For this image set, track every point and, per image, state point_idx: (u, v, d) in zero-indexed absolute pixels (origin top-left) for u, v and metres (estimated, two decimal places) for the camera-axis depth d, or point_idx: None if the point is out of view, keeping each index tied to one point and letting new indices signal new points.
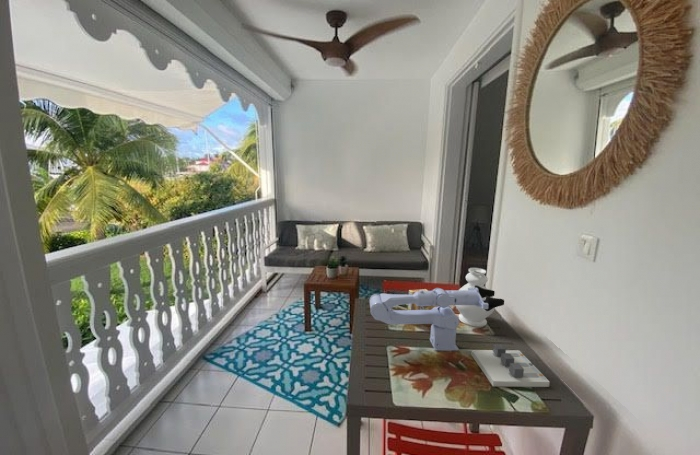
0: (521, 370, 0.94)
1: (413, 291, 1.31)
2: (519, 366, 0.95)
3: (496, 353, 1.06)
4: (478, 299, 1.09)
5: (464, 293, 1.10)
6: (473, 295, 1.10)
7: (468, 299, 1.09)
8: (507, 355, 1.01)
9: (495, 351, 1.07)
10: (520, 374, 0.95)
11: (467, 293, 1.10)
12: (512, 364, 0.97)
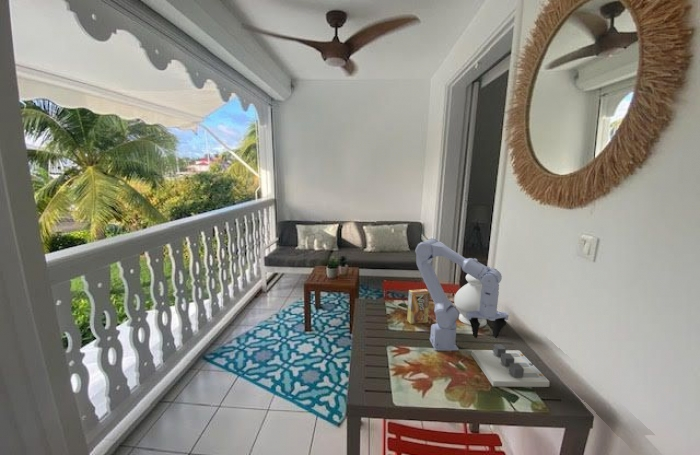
0: (521, 370, 0.94)
1: (413, 291, 1.31)
2: (519, 366, 0.95)
3: (496, 353, 1.06)
4: (480, 314, 1.03)
5: (495, 304, 1.01)
6: (485, 311, 1.02)
7: (481, 304, 1.03)
8: (507, 355, 1.01)
9: (495, 351, 1.07)
10: (520, 374, 0.95)
11: (487, 307, 1.01)
12: (512, 364, 0.97)
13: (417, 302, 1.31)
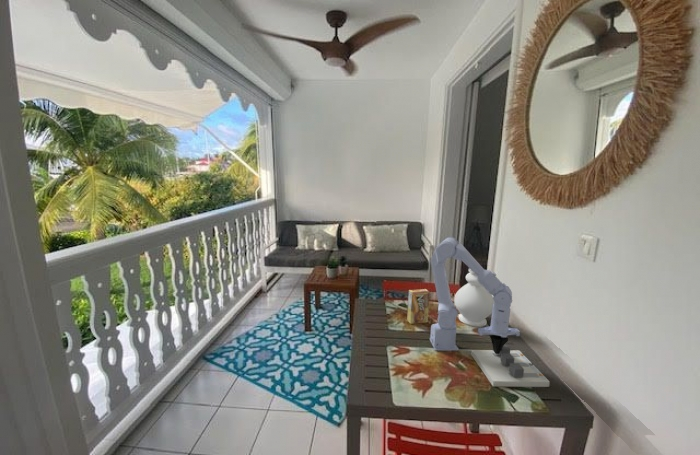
0: (521, 370, 0.94)
1: (413, 291, 1.31)
2: (519, 366, 0.95)
3: (500, 353, 1.06)
4: (492, 330, 1.04)
5: (507, 321, 1.02)
6: (496, 328, 1.03)
7: (493, 321, 1.04)
8: (507, 355, 1.01)
9: None
10: (520, 374, 0.95)
11: (499, 323, 1.02)
12: (512, 364, 0.97)
13: (417, 302, 1.31)
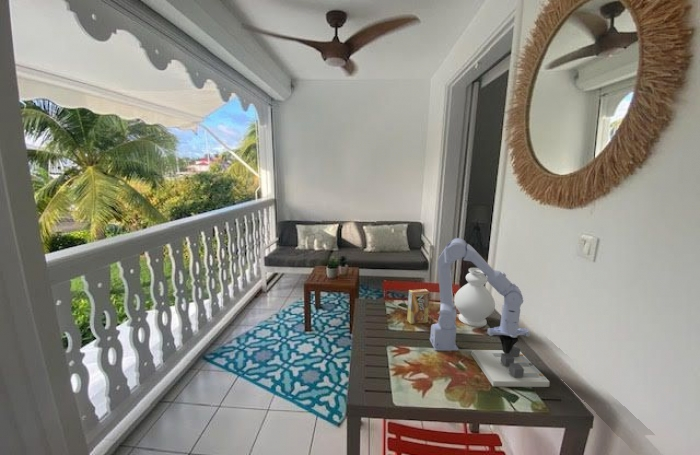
0: (521, 370, 0.94)
1: (413, 291, 1.31)
2: (519, 366, 0.95)
3: (510, 353, 1.06)
4: (501, 330, 1.05)
5: (518, 321, 1.02)
6: (506, 328, 1.03)
7: (503, 321, 1.04)
8: (507, 355, 1.01)
9: None
10: (520, 374, 0.95)
11: (509, 324, 1.02)
12: (512, 364, 0.97)
13: (417, 302, 1.31)
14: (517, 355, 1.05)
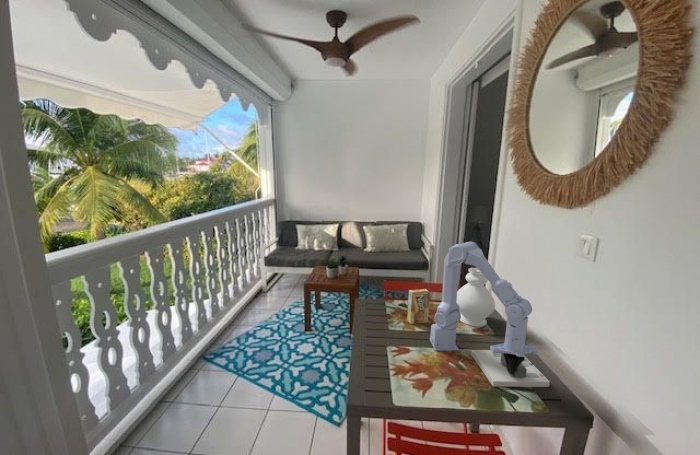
0: (524, 370, 0.94)
1: (413, 291, 1.31)
2: (522, 366, 0.95)
3: None
4: (506, 348, 0.94)
5: (521, 338, 0.91)
6: (511, 346, 0.92)
7: (507, 338, 0.93)
8: None
9: None
10: (523, 374, 0.95)
11: (515, 341, 0.91)
12: None
13: (417, 302, 1.31)
14: None
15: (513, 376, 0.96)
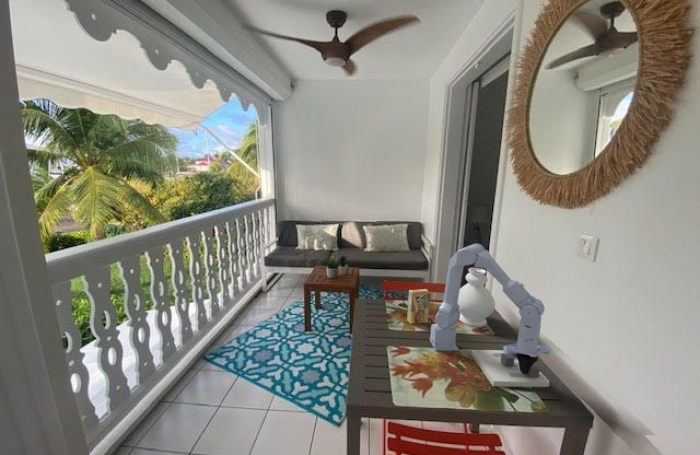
0: (537, 370, 0.94)
1: (413, 291, 1.31)
2: (535, 366, 0.96)
3: (510, 353, 1.06)
4: (519, 348, 0.94)
5: (536, 338, 0.91)
6: (525, 346, 0.92)
7: (521, 338, 0.93)
8: (507, 355, 1.01)
9: None
10: (536, 374, 0.95)
11: (528, 341, 0.91)
12: None
13: (417, 302, 1.31)
14: None
15: (513, 376, 0.96)
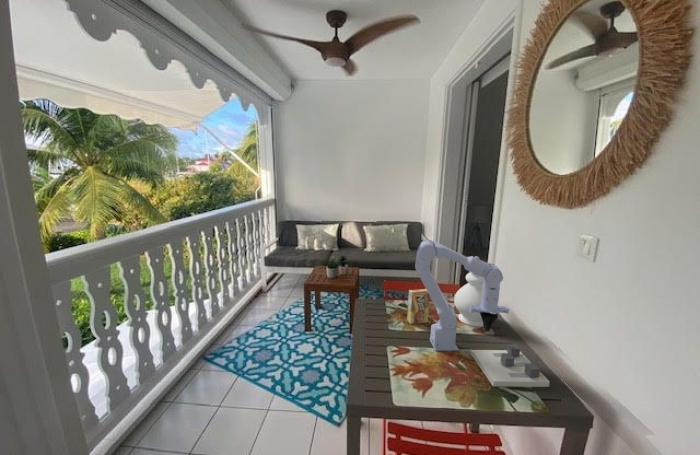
0: (537, 370, 0.94)
1: (413, 291, 1.31)
2: (535, 366, 0.96)
3: (510, 353, 1.06)
4: (482, 308, 1.08)
5: (498, 297, 1.06)
6: (486, 305, 1.07)
7: (483, 299, 1.08)
8: (507, 355, 1.01)
9: (509, 351, 1.07)
10: (536, 374, 0.95)
11: (489, 301, 1.06)
12: (528, 364, 0.97)
13: (417, 302, 1.31)
14: (517, 355, 1.05)
15: (513, 376, 0.96)
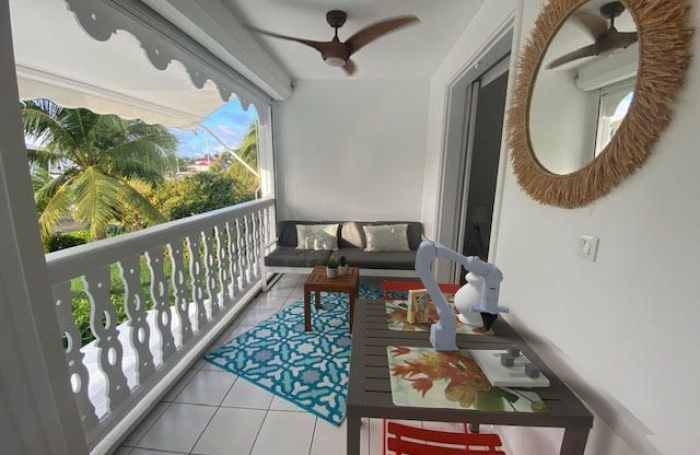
0: (537, 370, 0.94)
1: (413, 291, 1.31)
2: (535, 366, 0.96)
3: (510, 353, 1.06)
4: (482, 308, 1.08)
5: (498, 297, 1.06)
6: (486, 305, 1.07)
7: (483, 298, 1.08)
8: (507, 355, 1.01)
9: (509, 351, 1.07)
10: (536, 374, 0.95)
11: (489, 301, 1.06)
12: (528, 364, 0.97)
13: (417, 302, 1.31)
14: (517, 355, 1.05)
15: (513, 376, 0.96)
